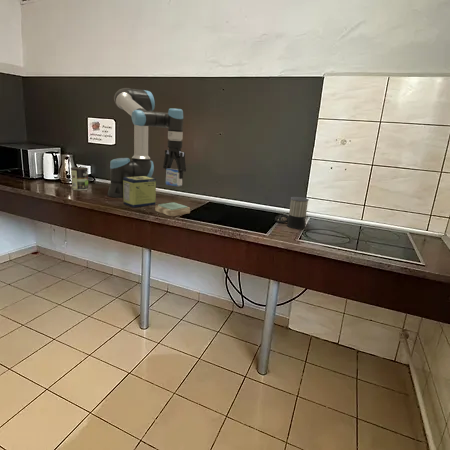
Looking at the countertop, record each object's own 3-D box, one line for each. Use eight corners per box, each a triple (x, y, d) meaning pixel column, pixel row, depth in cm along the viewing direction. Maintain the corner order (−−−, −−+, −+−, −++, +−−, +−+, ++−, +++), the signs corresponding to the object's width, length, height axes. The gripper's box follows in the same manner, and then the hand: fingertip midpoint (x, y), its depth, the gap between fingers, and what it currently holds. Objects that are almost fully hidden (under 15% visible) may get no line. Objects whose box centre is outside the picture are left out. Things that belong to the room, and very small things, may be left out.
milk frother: (305, 230, 166) (309, 201, 162) (273, 226, 169) (276, 197, 165) (304, 223, 179) (308, 196, 175) (275, 219, 182) (278, 192, 178)
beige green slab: (155, 210, 181) (155, 205, 180) (173, 207, 191) (173, 202, 190) (171, 216, 172) (171, 210, 172) (190, 213, 182) (190, 207, 181)
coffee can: (91, 188, 227) (90, 167, 223) (84, 191, 217) (83, 169, 213) (76, 187, 227) (75, 166, 223) (69, 189, 217) (67, 168, 213)
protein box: (156, 204, 195) (156, 178, 191) (133, 207, 184) (133, 180, 180) (145, 201, 202) (145, 175, 198) (122, 204, 191) (122, 177, 186)
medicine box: (165, 184, 178) (165, 168, 175) (170, 183, 182) (170, 167, 179) (177, 186, 174) (178, 170, 172) (182, 185, 178) (182, 169, 176)
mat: (157, 205, 180) (157, 204, 180) (173, 203, 188) (173, 202, 188) (171, 210, 173) (171, 209, 173) (187, 207, 181) (187, 206, 181)
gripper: (156, 138, 176) (156, 180, 182) (183, 141, 162) (181, 187, 168) (167, 138, 181) (166, 180, 187) (194, 141, 168) (192, 186, 174)
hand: (173, 183), depth 178 cm, fingers closed on medicine box, 9 cm apart
